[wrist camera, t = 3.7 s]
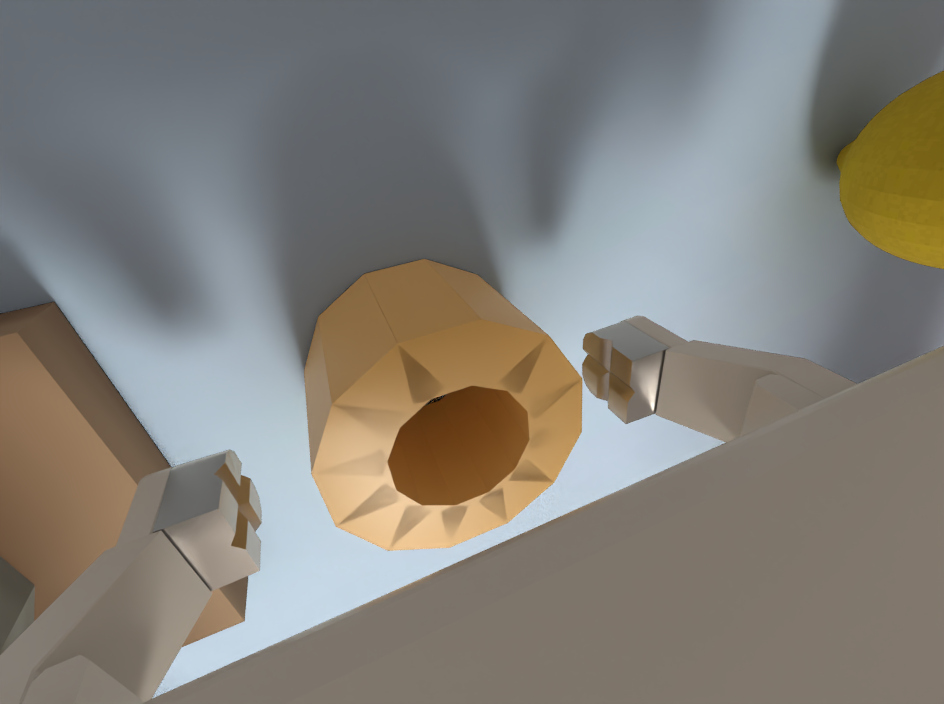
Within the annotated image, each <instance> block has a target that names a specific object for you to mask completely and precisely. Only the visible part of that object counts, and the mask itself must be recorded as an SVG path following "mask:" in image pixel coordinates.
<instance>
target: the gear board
mask: <svg viewBox="0 0 944 704" xmlns="http://www.w3.org/2000/svg"><path fill="white" fill-rule="evenodd" d="M167 468H170V465H169V464H168V462H167V461H166V460H165V458H164V457H163V455H162V454H161V453H160V451H159V450H158V448H157V447H156V445H155V444H154V443H153V441H152V440H151V438H150V437H149V436H148V434H147V433H146V431H145V430H144V428H143V427H142V426H141V424H140V423H139V421H138V420H137V419H136V417H135V416H134V414H133V413H132V411H131V410H130V409H129V407H128V406H127V404H126V403H125V402H124V400H123V399H122V397H121V396H120V394H119V393H118V392H117V390H116V389H115V387H114V386H113V385H112V383H111V382H110V380H109V379H108V377H107V376H106V375H105V373H104V372H103V370H102V369H101V368H100V366H99V365H98V363H97V362H96V360H95V359H94V358H93V356H92V355H91V353H90V352H89V351H88V349H87V348H86V346H85V345H84V343H83V342H82V341H81V339H80V338H79V336H78V335H77V334H76V332H75V331H74V329H73V328H72V326H71V325H70V324H69V322H68V321H67V319H66V318H65V317H64V315H63V314H62V312H61V311H60V309H59V308H58V307H57V305H56V304H55V302H51V303H47V304H42V305H38V306H33V307H29V308H24V309H20V310H15V311H11V312H7V313H2V314H0V655H1V654H2V653H3V652H4V651H5V650H6V649H7V648H8V647H9V646H10V645H11V644H12V643H13V642H14V641H15V640H16V639H17V638H18V637H19V636H20V635H21V634H22V633H23V632H24V631H25V630H26V629H27V628H28V627H29V626H30V625H31V624H32V623H33V622H34V621H35V620H36V619H37V618H38V617H39V616H40V615H41V614H42V613H43V612H44V611H45V610H46V609H47V608H48V607H49V606H50V605H51V604H52V603H53V602H54V601H55V600H56V599H57V598H58V597H59V596H60V595H61V594H62V593H63V592H64V591H65V590H66V589H67V588H68V587H69V586H70V585H71V584H72V583H73V582H74V581H75V580H76V579H77V578H78V577H79V576H80V575H81V574H82V573H83V572H84V571H85V570H86V569H87V568H88V567H89V566H90V565H91V564H92V563H93V562H94V561H95V560H96V559H97V558H98V557H99V556H100V555H101V554H102V553H103V552H104V551H105V550H108V549H110V548H113V547H116V544H117V541H118V539H119V536H120V533H121V530H122V528H123V525H124V522H125V519H126V517H127V514H128V511H129V508H130V506H131V503H132V500H133V497H134V495H135V492H136V489H137V486H138V484H139V481H140V480H141V479H142V478H143V477H145V476H146V475H149V474H152V473H155V472H158V471H161V470H164V469H167ZM247 584H248V576H246V577H244V578H242V579H239V580H237V581H235V582H232V583H230V584H228V585H225V586H223V587H221V588H218V589H216V590H214V591H211V592H212V595H211V597H210V599H209V601H208V602H207V604H206V606H205V607H204V609H203V611H202V613H201V614H200V616H199V618H198V619H197V621H196V623H195V625H194V626H193V628H192V630H191V632H190V633H189V635H188V637H187V638H186V640H185V642H184V644H183V645H182V647H183V646H186V645H188V644H191V643H193V642H195V641H198V640H200V639H203V638H205V637H207V636H210V635H212V634H215V633H217V632H219V631H222V630H224V629H227V628H229V627H231V626H234V625H236V624H239V623H241V622H243V621H245V609H246V597H247Z"/></svg>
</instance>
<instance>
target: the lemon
mask: <svg viewBox="0 0 944 704" xmlns="http://www.w3.org/2000/svg"><path fill="white" fill-rule="evenodd" d="M837 165H838V168H839V170H840V172H841V175H840V181H839V188H840V201H841V204H842V207H843V209H844V212H845V215H846V217H847V219H848V221H849V222H850V224H851V225H852V226H853V227H854V228H855V229H856V230H857V231H858V232H859V233H860V234H861V235H862V236H863V237H864V238H865V239H866V240H868V241H869V242H870V243H872V244H873V245H874V246H876V247H878V248H880V249H881V250H883V251H885V252H887V253H890V254H892V255H894V256H897V257H899V258H902V259H905V260H908V261H911V262H914V263H918V264H922V265H926V266H931V267H936V268H941V269H944V71H942V72H940V73H938V74H936V75H934V76H932V77H930V78H928V79H926V80H924V81H922V82H921V83H919V84H917V85H916V86H914V87H912V88H911V89H909V90H908V91H906V92H904V93H903V94H901V95H899V96H898V97H897V98H895V99H894V100H893V101H891V102H890V103H889V104H888V105H886V106H885V107H884V108H883V109H882V110H881V111H880V112H879V113H877V114H876V115H875V116H874V117H873V118H872V119H871V121H870V122H869V123H868V124H867V125H866V126H865V127H864V129H863V130H862V131H861V132H860V133H859V135H858V136H857V138H856V140H854V141H853V142H851V143H850V144H848V145H847V146H846V147H844V148H843V149H842V150H841V151H840V153H839V155H838V158H837Z"/></svg>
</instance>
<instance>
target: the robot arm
mask: <svg viewBox="0 0 944 704" xmlns="http://www.w3.org/2000/svg"><path fill="white" fill-rule="evenodd" d="M583 350H584V351H585V352H586V353H587V354H588V355H587V357H586V358H585V360H584V362H583V364H582V375H583V378H584V381H585V384H586V386H587V387H588V389H589V390H590V392H591V393H592V394H593V395H594V396H595V397H596V398H599V399H603V400H606V401H608V409H610V410H611V411H612V412H613V413H614V414H615V415H616V416H617V417H618V418H620V419H621V420H622V421H623V422H624V423H625V424H628V423H630V422H633V421H636V420H639V419H641V418H644V417H647V416H649V415H652V414H655V413H656V415H657V416H660V417H662V418H665V419H668V420H670V421H673V422H675V423H678V424H680V425H683V426H686V427H688V428H691V429H693V430H696V431H698V432H701V433H704V434H706V435H709V436H711V437H714V438H716V439H719V440H722V441H724V442H726V443H724V444H722V445H720V446H717V447H715V448H713V449H711V450H708V451H706V452H704V453H702V454H699V455H697V456H695V457H693V458H690V459H688V460H686V461H684V462H681V463H679V464H677V465H675V466H673V467H670V468H668V469H666V470H664V471H661V472H659V473H657V474H655V475H652V476H650V477H648V478H646V479H643V480H641V481H639V482H637V483H634V484H632V485H630V486H628V487H625V488H623V489H621V490H619V491H616V492H614V493H612V494H610V495H608V496H605V497H603V498H601V499H599V500H596V501H594V502H592V503H590V504H587V505H585V506H583V507H581V508H578V509H576V510H574V511H572V512H569V513H567V514H565V515H563V516H560V517H558V518H556V519H554V520H551V521H549V522H547V523H545V524H543V525H540V526H538V527H536V528H534V529H531V530H529V531H527V532H525V533H522V534H520V535H518V536H516V537H513V538H511V539H509V540H507V541H504V542H502V543H500V544H498V545H495V546H493V547H491V548H489V549H486V550H484V551H482V552H480V553H478V554H475V555H473V556H471V557H469V558H466V559H464V560H462V561H460V562H457V563H455V564H453V565H451V566H448V567H446V568H444V569H442V570H439V571H437V572H435V573H433V574H430V575H428V576H426V577H424V578H422V579H419V580H417V581H415V582H413V583H410V584H408V585H406V586H404V587H401V588H399V589H397V590H395V591H392V592H390V593H388V594H386V595H383V596H381V597H379V598H377V599H374V600H372V601H370V602H368V603H366V604H363V605H361V606H359V607H357V608H354V609H352V610H350V611H348V612H345V613H343V614H341V615H339V616H336V617H334V618H332V619H330V620H327V621H325V622H323V623H321V624H318V625H316V626H314V627H312V628H310V629H307V630H305V631H303V632H301V633H298V634H296V635H294V636H292V637H289V638H287V639H285V640H283V641H280V642H278V643H276V644H274V645H271V646H269V647H267V648H265V649H263V650H260V651H258V652H256V653H254V654H251V655H249V656H247V657H245V658H242V659H240V660H238V661H236V662H233V663H231V664H229V665H227V666H224V667H222V668H220V669H218V670H216V671H213V672H211V673H209V674H207V675H204V676H202V677H200V678H198V679H195V680H193V681H191V682H189V683H186V684H184V685H182V686H180V687H177V688H175V689H173V690H171V691H168V692H166V693H164V694H162V695H160V696H157V697H155V698H153V699H152V697H153V695H154V694H155V692H156V690H157V688H158V687H159V685H160V683H161V681H162V680H163V678H164V676H165V675H166V673H167V671H168V669H169V668H170V666H171V664H172V663H173V661H174V659H175V657H176V656H177V654H178V652H179V650H180V649H181V647H182V645H183V644H184V642H185V640H186V638H187V637H188V635H189V633H190V632H191V630H192V628H193V626H194V625H195V623H196V621H197V619H198V618H199V616H200V614H201V613H202V611H203V609H204V607H205V606H206V604H207V602H208V601H209V599H210V597H211V595H212V592H211V591H214V590H216V589H218V588H221V587H223V586H225V585H228V584H230V583H232V582H235V581H237V580H239V579H242V578H244V577H246V576H249V575H251V574H253V573H256V572H258V571H260V554H261V541H260V539H259V537H258V536H257V534H256V530H257V529H258V527H259V526H260V524H261V523H262V510H261V505H260V500H259V496H258V493H257V491H256V488H255V486H254V484H253V482H252V480H251V479H250V478H248V477H245V476H242V475H241V466H242V463H241V461H240V460H239V458H238V457H237V455H236V453H235V452H234V451H232V450H230V449H229V450H226V451H223V452H219V453H216V454H213V455H209V456H206V457H203V458H200V459H196V460H193V461H190V462H186V463H183V464H180V465H177V466H175V467H170V468H167V469H164V470H161V471H158V472H155V473H152V474H149V475H146V476H145V477H143V478H142V479H141V480H140V481H139V484H138V486H137V489H136V492H135V495H134V497H133V500H132V503H131V506H130V508H129V511H128V514H127V517H126V519H125V522H124V525H123V528H122V530H121V533H120V536H119V539H118V541H117V544H116V547H113V548H110V549H108V550H105V551H104V552H103V553H102V554H101V555H100V556H99V557H98V558H97V559H96V560H95V561H94V562H93V563H92V564H91V565H90V566H89V567H88V568H87V569H86V570H85V571H84V572H83V573H82V574H81V575H80V576H79V577H78V578H77V579H76V580H75V581H74V582H73V583H72V584H71V585H70V586H69V587H68V588H67V589H66V590H65V591H64V592H63V593H62V594H61V595H60V596H59V597H58V598H57V599H56V600H55V601H54V602H53V603H52V604H51V605H50V606H49V607H48V608H47V609H46V610H45V611H44V612H43V613H42V614H41V615H40V616H39V617H38V618H37V619H36V620H35V621H34V622H33V623H32V624H31V625H30V626H29V627H28V628H27V629H26V630H25V631H24V632H23V633H22V634H21V635H20V636H19V637H18V638H17V639H16V640H15V641H14V642H13V643H12V644H11V645H10V646H9V647H8V648H7V649H6V650H5V651H4V652H3V653H2V654H1V655H0V704H944V346H942V347H939V348H937V349H935V350H933V351H930V352H928V353H926V354H924V355H921V356H919V357H917V358H915V359H912V360H910V361H908V362H906V363H903V364H901V365H899V366H897V367H895V368H892V369H890V370H888V371H886V372H883V373H881V374H879V375H877V376H874V377H872V378H870V379H868V380H865V381H863V382H861V383H859V384H857V383H855V382H853V381H851V380H848V379H846V378H844V377H842V376H840V375H838V374H836V373H834V372H832V371H830V370H828V369H826V368H824V367H821V366H819V365H817V364H815V363H813V362H811V361H809V360H807V359H804V358H798V357H792V356H786V355H780V354H774V353H768V352H762V351H756V350H750V349H744V348H738V347H732V346H726V345H720V344H714V343H708V342H702V341H696V340H693V341H690V342H688V341H686V340H684V339H683V338H681V337H679V336H677V335H676V334H674V333H672V332H670V331H669V330H667V329H665V328H663V327H662V326H660V325H658V324H656V323H654V322H653V321H651V320H649V319H647V318H646V317H644V316H634V317H632V318H629V319H626V320H623V321H621V322H620V323H617V324H614V325H611V326H608V327H605V328H602V329H599V330H596V331H593V332H590V333H587V334H585V337H584V339H583Z"/></svg>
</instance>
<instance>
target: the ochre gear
mask: <svg viewBox="0 0 944 704" xmlns="http://www.w3.org/2000/svg"><path fill="white" fill-rule="evenodd" d="M304 378H305V391H306V405H307V419H308V433H309V447H310V461H311V474H312V476H313V478H314V481H315V483H316V485H317V487H318V489H319V491H320V493H321V496H322V498H323V500H324V502H325V504H326V506H327V508H328V511H329V513H330V515H331V517H332V519H333V521H334V524H335V526H336V527H338V528H340V529H342V530H345V531H347V532H349V533H351V534H353V535H355V536H357V537H360V538H362V539H364V540H366V541H368V542H370V543H373V544H375V545H377V546H379V547H381V548H383V549H385V550H388V551H391V550H411V549H431V548H449V547H452V546H454V545H457V544H459V543H461V542H464V541H466V540H468V539H471V538H473V537H476V536H478V535H480V534H483V533H485V532H487V531H490V530H492V529H494V528H497V527H499V526H502V525H504V524H506V523H508V522H509V521H510V520H512V519H513V518H514V517H515V516H516V515H517V514H518V513H520V512H521V511H522V510H523V509H524V508H525V507H526V506H528V505H529V504H530V503H531V502H532V501H533V500H534V499H536V498H537V497H538V496H539V495H540V494H541V493H543V492H544V491H545V490H546V489H547V488H548V487H549V486H551V485H552V484H553V483H554V482H555V480H556V478H557V476H558V474H559V472H560V471H561V469H562V467H563V465H564V463H565V461H566V460H567V458H568V456H569V454H570V452H571V450H572V449H573V447H574V445H575V443H576V441H577V439H578V438H579V436H580V434H581V432H582V378H581V376H580V375H579V374H578V373H577V371H576V370H575V369H574V367H573V366H572V365H571V363H570V362H569V361H568V360H567V358H566V357H565V356H564V354H563V353H562V352H561V351H560V349H559V348H558V347H557V345H556V344H555V343H554V341H553V340H552V339H551V338H550V336H549V335H548V334H547V333H545V332H544V331H543V330H542V329H541V328H539V327H538V326H537V325H536V324H535V323H534V322H532V321H531V320H530V319H529V318H528V317H527V316H525V315H524V314H523V313H522V312H521V311H520V310H518V309H517V308H516V307H515V306H514V305H512V304H511V303H510V302H509V301H508V300H507V299H505V298H504V297H503V296H502V295H501V294H500V293H498V292H497V291H496V290H495V289H494V288H492V287H491V286H490V285H489V284H488V283H487V282H485V281H484V280H483V279H482V278H481V277H480V276H478V275H477V274H474V273H470V272H467V271H464V270H460V269H457V268H454V267H450V266H447V265H444V264H440V263H437V262H434V261H430V260H427V259H422V260H418V261H414V262H410V263H406V264H402V265H397V266H393V267H389V268H385V269H381V270H377V271H373V272H369V273H365V274H363V275H362V276H361V277H360V278H359V279H358V280H357V281H356V282H355V283H354V284H352V285H351V286H350V287H349V288H348V289H347V290H346V291H345V292H344V293H343V294H342V295H341V296H340V297H339V298H338V299H336V300H335V301H334V302H333V303H332V304H331V305H330V306H329V307H328V308H327V309H326V310H325V311H324V312H323V313H322V314H320V315H319V316H318V319H317V323H316V327H315V330H314V334H313V338H312V342H311V346H310V350H309V353H308V357H307V361H306V365H305V369H304ZM445 394H447V395H445ZM442 395H445V396H444V397H443V398H442V399H441V400H440V401H437V402H434V403H431V404H428V405H425V404H427V403H428V402H429V401H430V400H431V399H433V398H436V397H439V396H442ZM424 405H425V406H424Z"/></svg>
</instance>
